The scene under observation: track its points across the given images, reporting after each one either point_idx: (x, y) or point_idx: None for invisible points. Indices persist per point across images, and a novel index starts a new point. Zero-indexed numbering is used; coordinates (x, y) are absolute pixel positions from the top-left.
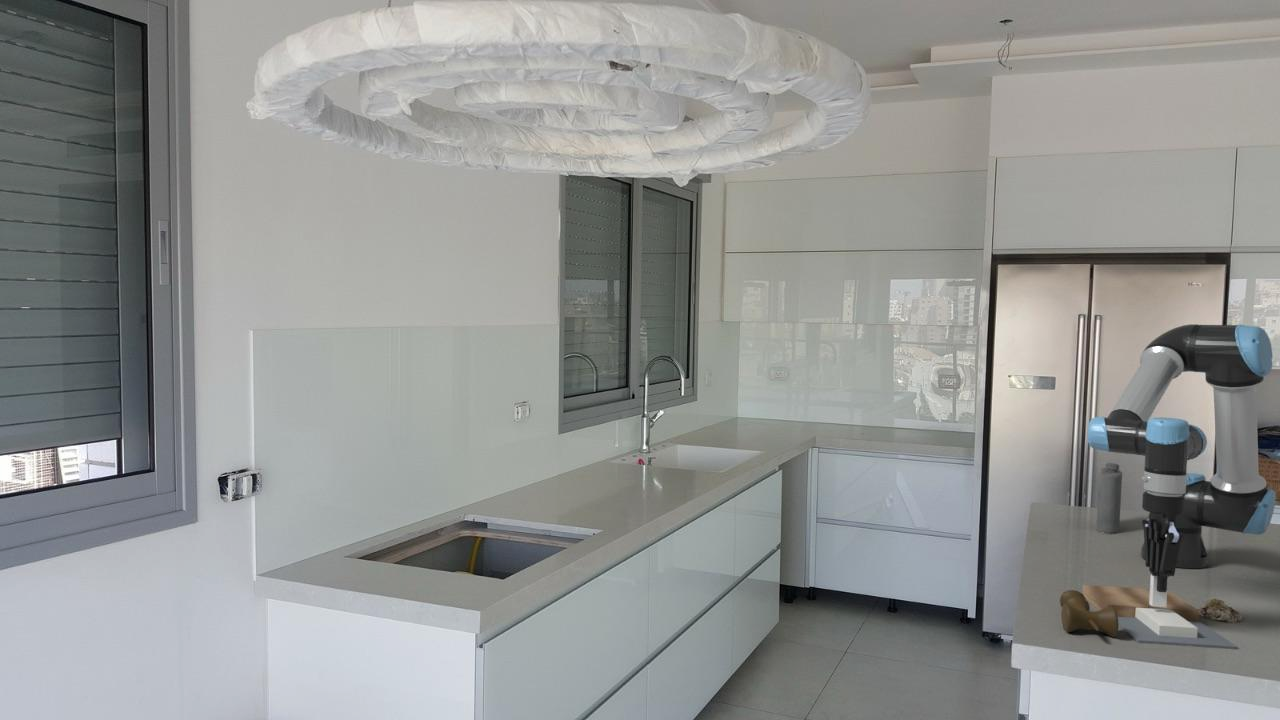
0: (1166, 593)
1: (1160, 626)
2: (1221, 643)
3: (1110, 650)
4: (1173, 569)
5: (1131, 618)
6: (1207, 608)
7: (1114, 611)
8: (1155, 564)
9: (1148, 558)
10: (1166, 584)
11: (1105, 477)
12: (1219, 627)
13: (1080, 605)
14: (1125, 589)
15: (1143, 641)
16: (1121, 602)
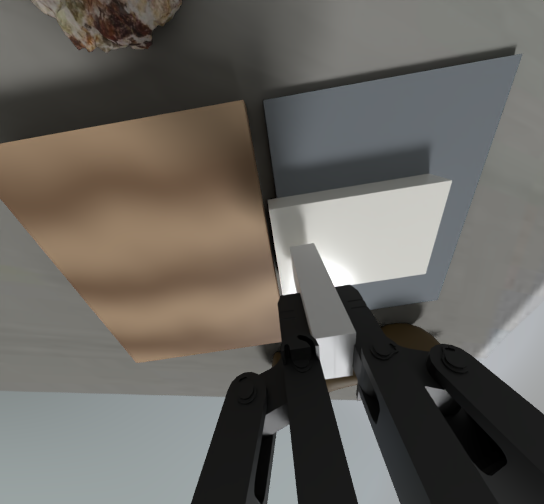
0: (327, 272)
1: (424, 270)
2: (482, 108)
3: (467, 335)
4: (512, 400)
5: None
6: (126, 10)
7: None
8: (381, 446)
9: (269, 472)
10: (370, 311)
11: None
12: (280, 23)
13: (343, 386)
14: (102, 291)
15: (439, 291)
16: (254, 317)
